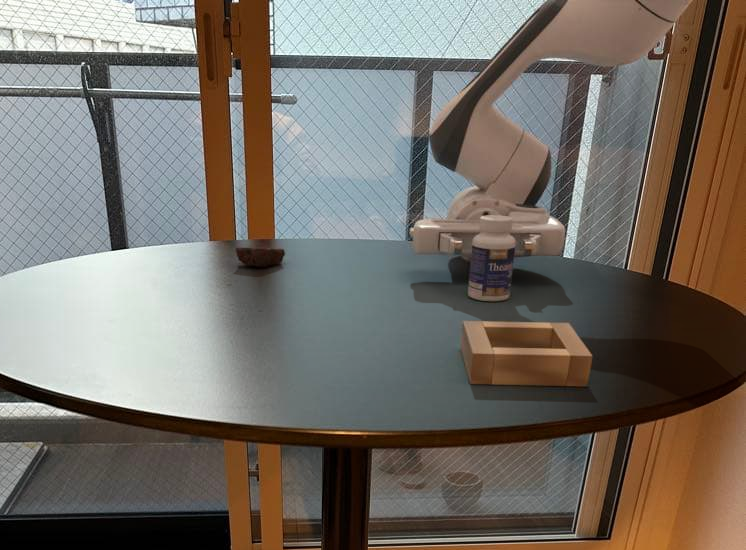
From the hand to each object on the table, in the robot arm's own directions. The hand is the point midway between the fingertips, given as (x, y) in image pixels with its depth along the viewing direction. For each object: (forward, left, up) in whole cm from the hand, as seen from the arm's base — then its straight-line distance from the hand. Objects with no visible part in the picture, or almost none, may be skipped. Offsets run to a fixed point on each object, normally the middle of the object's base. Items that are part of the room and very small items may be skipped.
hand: (493, 248), depth 103 cm
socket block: (0, +30, -6) cm, 30 cm away
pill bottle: (0, +2, -6) cm, 6 cm away
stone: (+32, -15, -6) cm, 36 cm away
